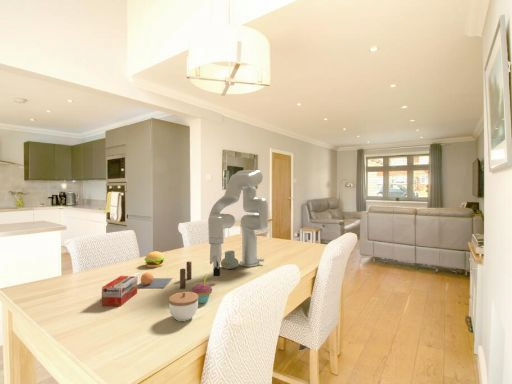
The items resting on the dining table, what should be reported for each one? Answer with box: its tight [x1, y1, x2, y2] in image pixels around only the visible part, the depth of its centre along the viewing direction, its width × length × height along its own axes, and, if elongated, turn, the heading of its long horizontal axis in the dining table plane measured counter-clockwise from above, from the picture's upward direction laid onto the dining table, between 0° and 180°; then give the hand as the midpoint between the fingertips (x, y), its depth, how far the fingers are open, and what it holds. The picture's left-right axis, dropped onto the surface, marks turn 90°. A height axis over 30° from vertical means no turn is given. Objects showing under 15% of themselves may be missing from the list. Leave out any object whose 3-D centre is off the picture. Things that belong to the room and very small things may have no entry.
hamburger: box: [144, 250, 166, 269], centre depth 169 cm, size 12×12×9 cm
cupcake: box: [191, 274, 213, 304], centre depth 116 cm, size 9×8×12 cm
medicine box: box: [101, 275, 139, 307], centre depth 118 cm, size 15×8×8 cm, turn 178°
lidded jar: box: [168, 291, 199, 322], centre depth 101 cm, size 11×11×9 cm
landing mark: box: [137, 277, 173, 289], centre depth 137 cm, size 14×14×1 cm
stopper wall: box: [131, 272, 141, 279], centre depth 137 cm, size 2×18×2 cm, turn 1°
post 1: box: [179, 268, 187, 290], centre depth 131 cm, size 3×3×9 cm
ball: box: [140, 272, 155, 285], centre depth 135 cm, size 6×6×6 cm
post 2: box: [185, 260, 193, 281], centre depth 144 cm, size 3×3×9 cm
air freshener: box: [220, 250, 240, 270], centre depth 165 cm, size 11×8×10 cm
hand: (216, 275), depth 139 cm, fingers closed
